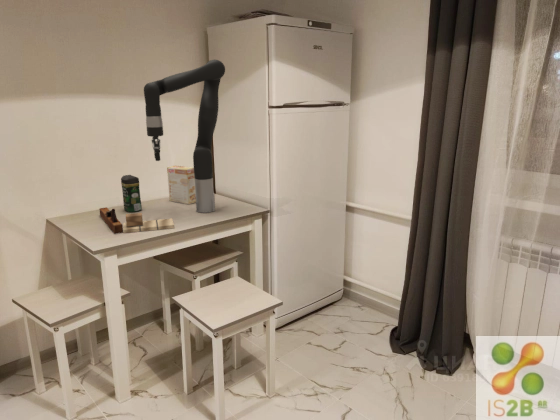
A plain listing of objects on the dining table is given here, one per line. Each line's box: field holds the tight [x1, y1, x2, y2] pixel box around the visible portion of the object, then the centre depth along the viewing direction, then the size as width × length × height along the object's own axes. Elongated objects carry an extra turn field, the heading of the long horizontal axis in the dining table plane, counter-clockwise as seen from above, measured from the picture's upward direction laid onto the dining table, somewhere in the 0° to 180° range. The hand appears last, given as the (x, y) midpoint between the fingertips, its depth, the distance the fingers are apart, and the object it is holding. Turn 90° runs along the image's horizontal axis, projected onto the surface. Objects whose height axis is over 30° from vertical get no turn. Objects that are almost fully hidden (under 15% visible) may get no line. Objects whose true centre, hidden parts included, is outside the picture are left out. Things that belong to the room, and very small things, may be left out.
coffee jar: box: [120, 174, 143, 213], centre depth 228 cm, size 10×8×19 cm
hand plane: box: [99, 207, 124, 235], centre depth 208 cm, size 34×5×10 cm, turn 34°
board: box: [122, 217, 175, 234], centre depth 203 cm, size 22×11×2 cm, turn 108°
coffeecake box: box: [166, 165, 196, 205], centre depth 245 cm, size 15×7×20 cm, turn 58°
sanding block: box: [125, 212, 144, 227], centre depth 200 cm, size 7×4×5 cm, turn 108°
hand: (157, 159), depth 215 cm, fingers open, 8 cm apart
